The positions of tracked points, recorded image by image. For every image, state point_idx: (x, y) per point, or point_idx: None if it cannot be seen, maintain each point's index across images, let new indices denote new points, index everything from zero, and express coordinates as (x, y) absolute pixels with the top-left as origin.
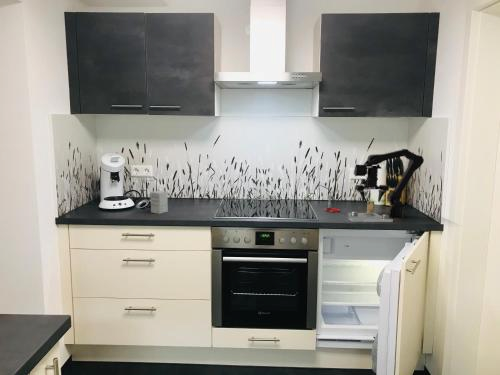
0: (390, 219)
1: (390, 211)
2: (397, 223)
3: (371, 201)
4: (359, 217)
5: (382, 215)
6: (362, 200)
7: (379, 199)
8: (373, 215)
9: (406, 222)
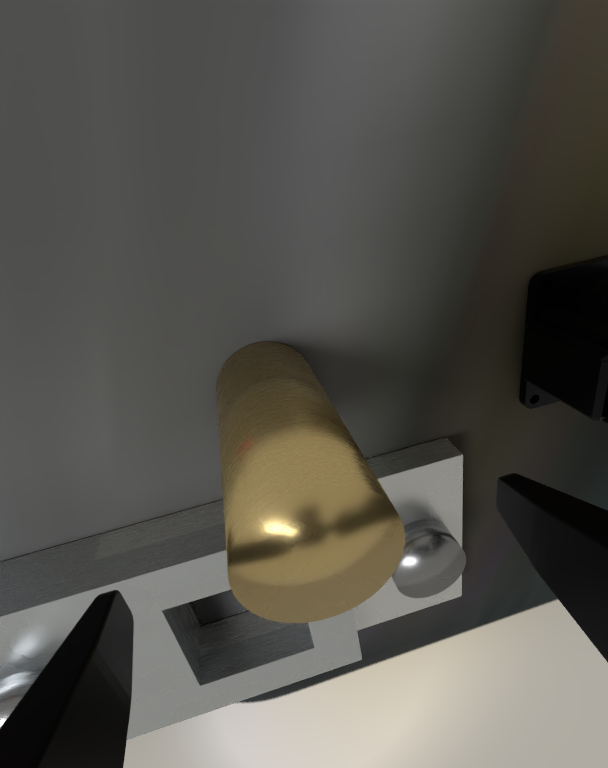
0: (437, 603)
1: (565, 403)
2: (467, 600)
3: (331, 567)
4: None
5: (393, 577)
6: (73, 635)
7: (550, 584)
8: None
9: None
